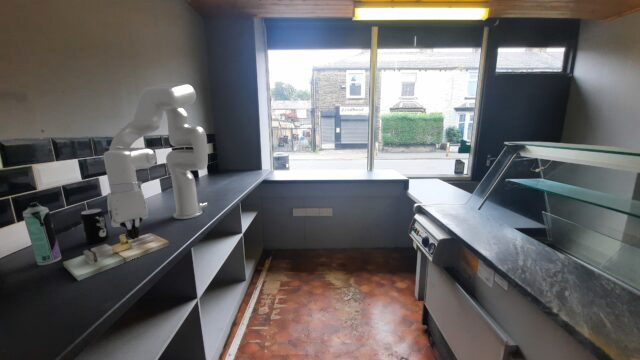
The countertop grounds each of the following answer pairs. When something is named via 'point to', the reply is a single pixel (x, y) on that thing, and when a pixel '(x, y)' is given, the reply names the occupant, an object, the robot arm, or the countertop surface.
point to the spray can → (41, 234)
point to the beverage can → (94, 226)
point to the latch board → (112, 256)
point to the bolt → (119, 245)
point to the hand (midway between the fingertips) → (134, 237)
